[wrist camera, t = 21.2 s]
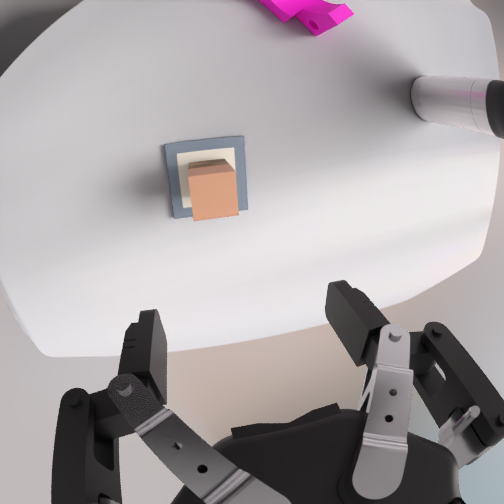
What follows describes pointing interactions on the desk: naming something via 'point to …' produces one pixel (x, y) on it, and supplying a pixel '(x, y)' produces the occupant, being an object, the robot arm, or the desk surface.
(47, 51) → the desk surface
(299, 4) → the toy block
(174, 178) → the blue bordered cream board
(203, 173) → the terracotta cube
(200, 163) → the walnut cube
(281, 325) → the desk surface
